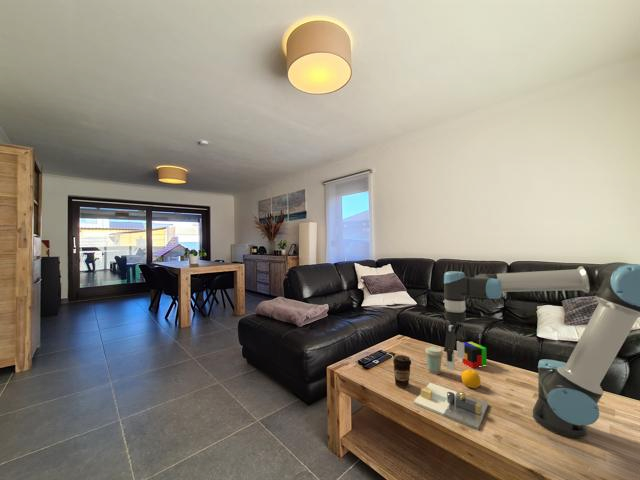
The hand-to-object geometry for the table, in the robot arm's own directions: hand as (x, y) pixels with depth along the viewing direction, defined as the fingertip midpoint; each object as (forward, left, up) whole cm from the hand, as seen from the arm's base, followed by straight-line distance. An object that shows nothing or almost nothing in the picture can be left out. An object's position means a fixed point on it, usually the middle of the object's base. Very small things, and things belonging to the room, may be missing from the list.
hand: (455, 363), depth 106 cm
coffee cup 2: (+18, -30, -20) cm, 40 cm away
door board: (+9, -5, -20) cm, 23 cm away
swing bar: (-3, -5, -19) cm, 20 cm away
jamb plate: (-3, -5, -20) cm, 21 cm away
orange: (0, -27, -20) cm, 34 cm away
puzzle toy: (+5, -54, -20) cm, 58 cm away
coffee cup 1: (+25, -6, -20) cm, 33 cm away
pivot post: (+3, -5, -20) cm, 21 cm away
